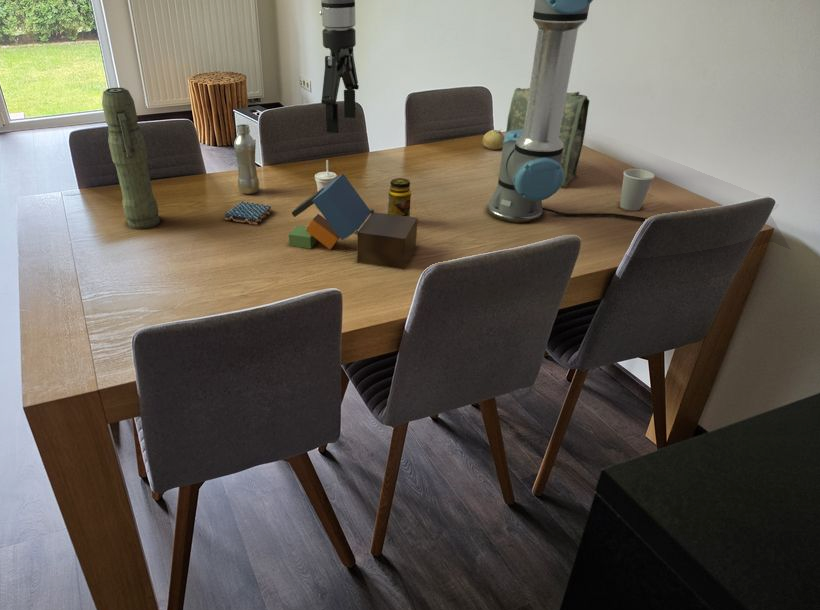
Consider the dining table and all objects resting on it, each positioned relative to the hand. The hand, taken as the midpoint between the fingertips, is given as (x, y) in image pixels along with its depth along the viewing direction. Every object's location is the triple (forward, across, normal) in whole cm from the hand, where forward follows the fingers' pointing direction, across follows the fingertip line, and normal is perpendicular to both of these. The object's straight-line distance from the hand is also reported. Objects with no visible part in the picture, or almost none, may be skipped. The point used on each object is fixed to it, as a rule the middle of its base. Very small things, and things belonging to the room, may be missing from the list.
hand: (341, 124), depth 150 cm
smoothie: (+28, -14, -10) cm, 33 cm away
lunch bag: (+29, -60, +48) cm, 82 cm away
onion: (+29, -86, +30) cm, 95 cm away
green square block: (+26, +10, -11) cm, 30 cm away
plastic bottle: (+28, -18, -37) cm, 50 cm away
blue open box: (+15, +10, +5) cm, 19 cm away
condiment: (+28, -10, +12) cm, 32 cm away
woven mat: (+28, -1, -29) cm, 40 cm away
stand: (+28, +10, +15) cm, 33 cm away
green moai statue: (+27, +11, -56) cm, 63 cm away
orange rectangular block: (+22, +10, -6) cm, 25 cm away
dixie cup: (+30, -41, +75) cm, 91 cm away
